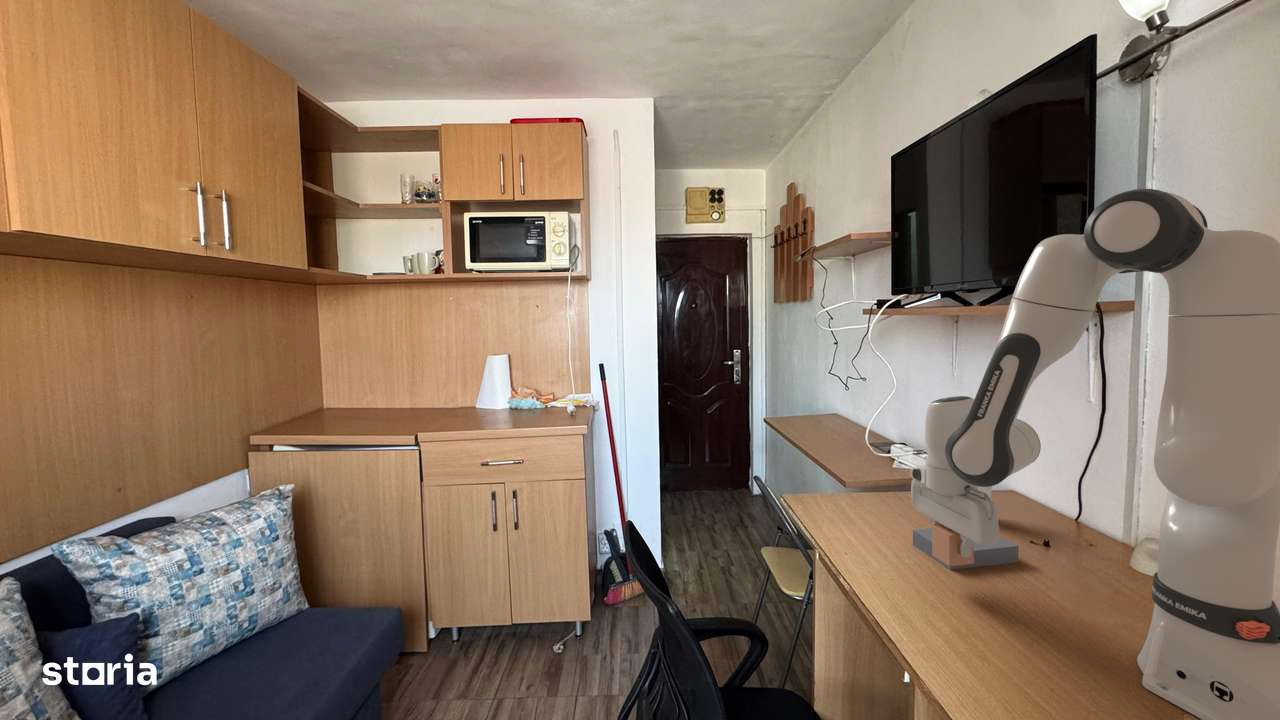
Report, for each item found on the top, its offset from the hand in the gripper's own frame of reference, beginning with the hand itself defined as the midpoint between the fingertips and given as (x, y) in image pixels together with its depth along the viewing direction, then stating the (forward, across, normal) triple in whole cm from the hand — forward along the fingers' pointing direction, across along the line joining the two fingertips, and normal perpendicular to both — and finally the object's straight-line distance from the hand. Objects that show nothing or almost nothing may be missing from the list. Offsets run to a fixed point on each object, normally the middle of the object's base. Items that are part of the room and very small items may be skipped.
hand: (952, 548), depth 104 cm
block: (+2, 0, 0) cm, 2 cm away
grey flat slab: (+8, +12, -12) cm, 19 cm away
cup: (+8, +30, -28) cm, 42 cm away
